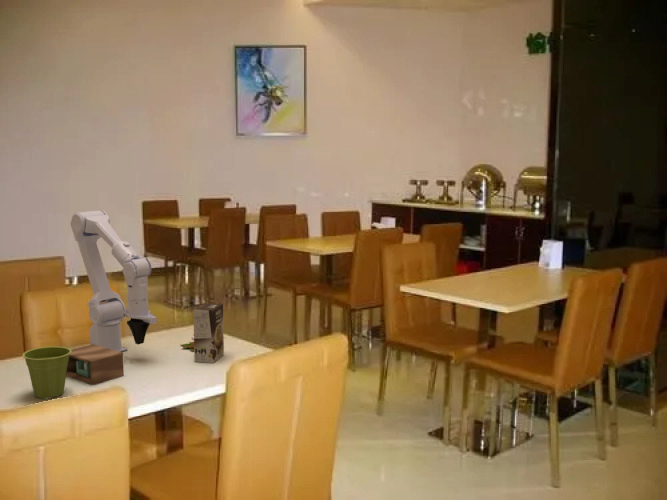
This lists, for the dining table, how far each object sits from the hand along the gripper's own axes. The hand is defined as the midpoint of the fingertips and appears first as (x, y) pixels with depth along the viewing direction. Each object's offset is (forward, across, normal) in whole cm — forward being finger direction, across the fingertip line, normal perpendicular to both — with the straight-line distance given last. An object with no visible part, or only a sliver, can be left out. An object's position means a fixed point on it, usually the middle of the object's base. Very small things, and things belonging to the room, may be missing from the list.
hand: (139, 343), depth 221 cm
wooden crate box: (+5, -1, +16) cm, 17 cm away
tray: (+5, -2, +16) cm, 16 cm away
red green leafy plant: (+6, -3, -20) cm, 21 cm away
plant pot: (+5, -6, +33) cm, 34 cm away
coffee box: (+5, -15, -14) cm, 21 cm away
